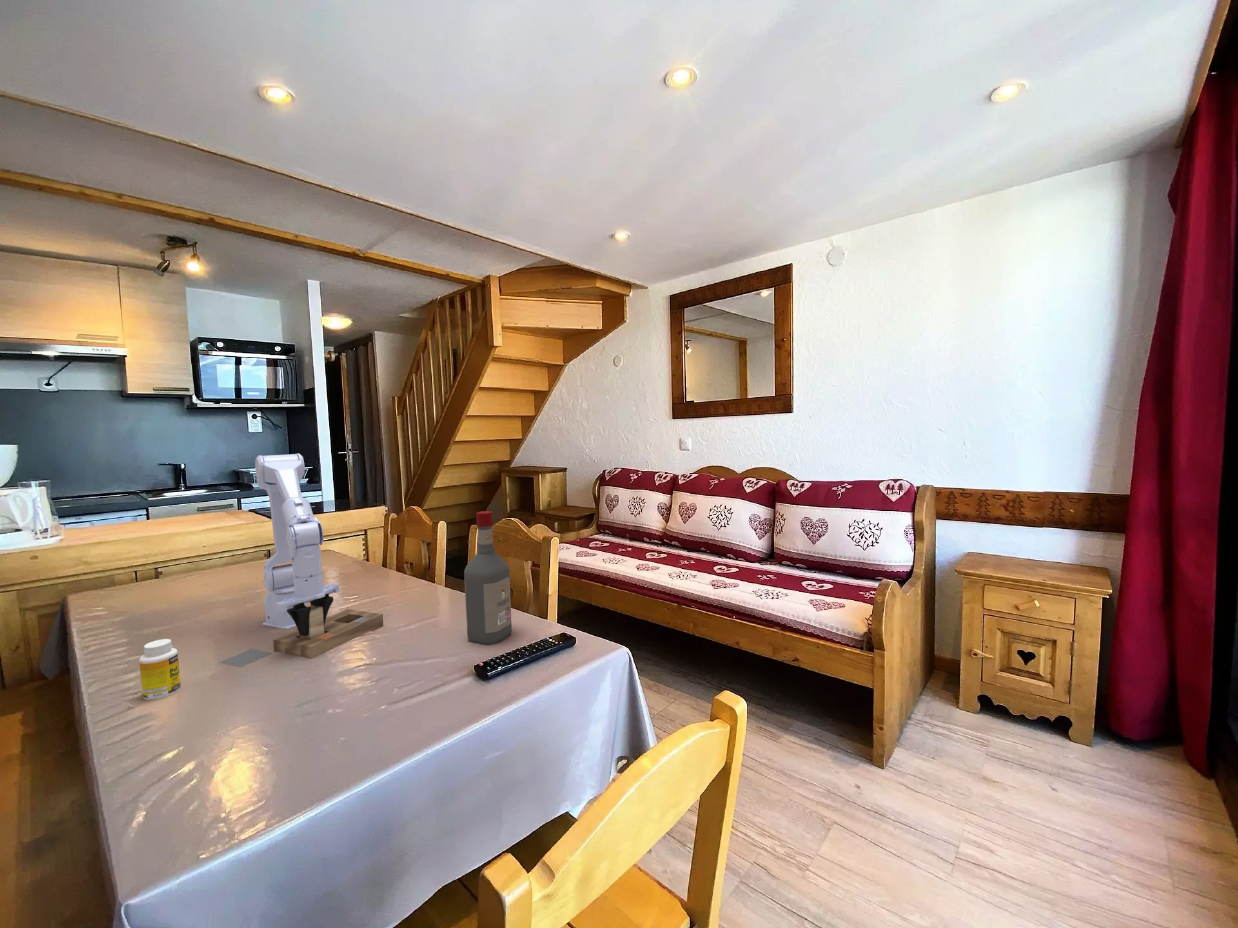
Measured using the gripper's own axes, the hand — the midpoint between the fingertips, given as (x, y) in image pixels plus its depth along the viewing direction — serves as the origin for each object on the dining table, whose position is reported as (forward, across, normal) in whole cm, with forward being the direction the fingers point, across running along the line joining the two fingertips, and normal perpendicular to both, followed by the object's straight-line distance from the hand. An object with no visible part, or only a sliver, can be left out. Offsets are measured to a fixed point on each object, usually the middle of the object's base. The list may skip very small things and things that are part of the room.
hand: (312, 631), depth 120 cm
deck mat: (+4, -10, +8) cm, 13 cm away
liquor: (+4, +18, -36) cm, 40 cm away
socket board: (+4, +5, 0) cm, 6 cm away
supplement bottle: (+4, -25, +9) cm, 27 cm away
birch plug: (+2, 0, 0) cm, 3 cm away
